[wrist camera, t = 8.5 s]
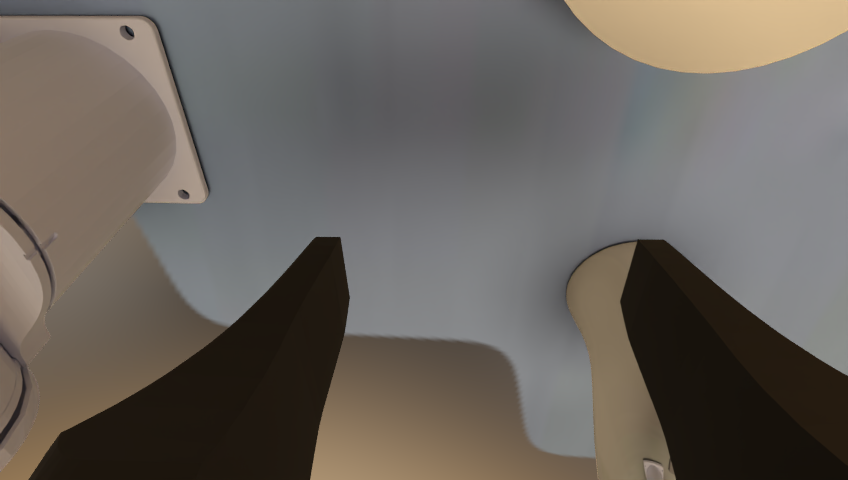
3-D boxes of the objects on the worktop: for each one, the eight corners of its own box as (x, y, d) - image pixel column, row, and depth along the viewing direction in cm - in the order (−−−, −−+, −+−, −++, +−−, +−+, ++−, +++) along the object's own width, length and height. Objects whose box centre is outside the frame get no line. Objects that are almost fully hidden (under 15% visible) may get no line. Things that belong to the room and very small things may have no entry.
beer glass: (533, 315, 27) (592, 674, 16) (600, 215, 23) (748, 598, 11) (649, 347, 28) (786, 706, 17) (732, 256, 24) (994, 646, 12)
